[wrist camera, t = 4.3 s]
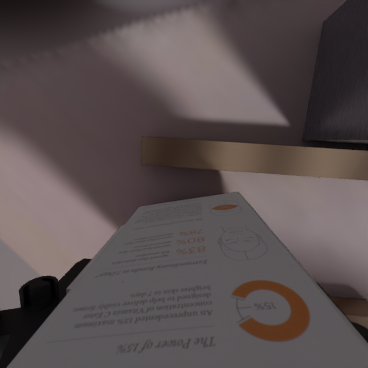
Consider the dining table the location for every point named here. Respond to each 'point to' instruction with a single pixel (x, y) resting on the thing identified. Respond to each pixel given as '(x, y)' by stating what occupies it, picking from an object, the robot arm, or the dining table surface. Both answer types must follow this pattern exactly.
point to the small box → (195, 299)
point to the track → (264, 163)
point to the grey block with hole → (341, 78)
